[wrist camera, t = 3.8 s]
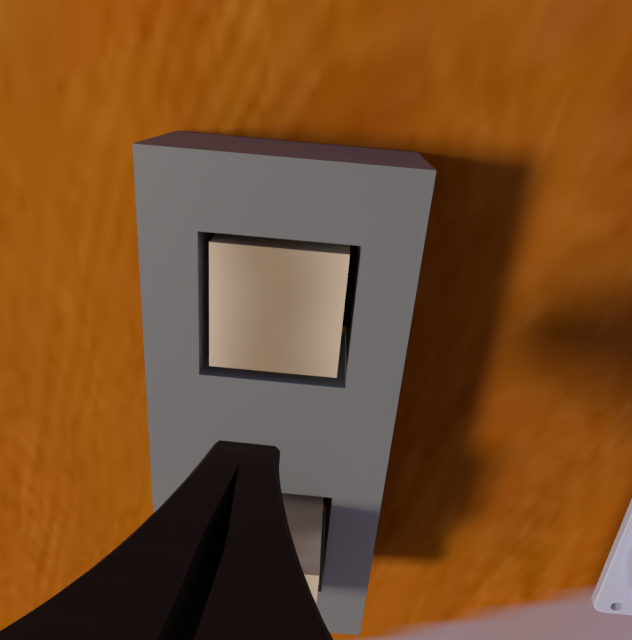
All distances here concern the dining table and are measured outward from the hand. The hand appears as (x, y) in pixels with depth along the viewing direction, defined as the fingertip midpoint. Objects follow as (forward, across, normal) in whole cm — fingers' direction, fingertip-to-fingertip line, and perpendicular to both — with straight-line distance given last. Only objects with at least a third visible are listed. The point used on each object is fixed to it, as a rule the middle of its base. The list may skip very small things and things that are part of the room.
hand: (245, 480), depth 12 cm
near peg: (+9, 0, -2) cm, 9 cm away
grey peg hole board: (+9, 0, +3) cm, 10 cm away
